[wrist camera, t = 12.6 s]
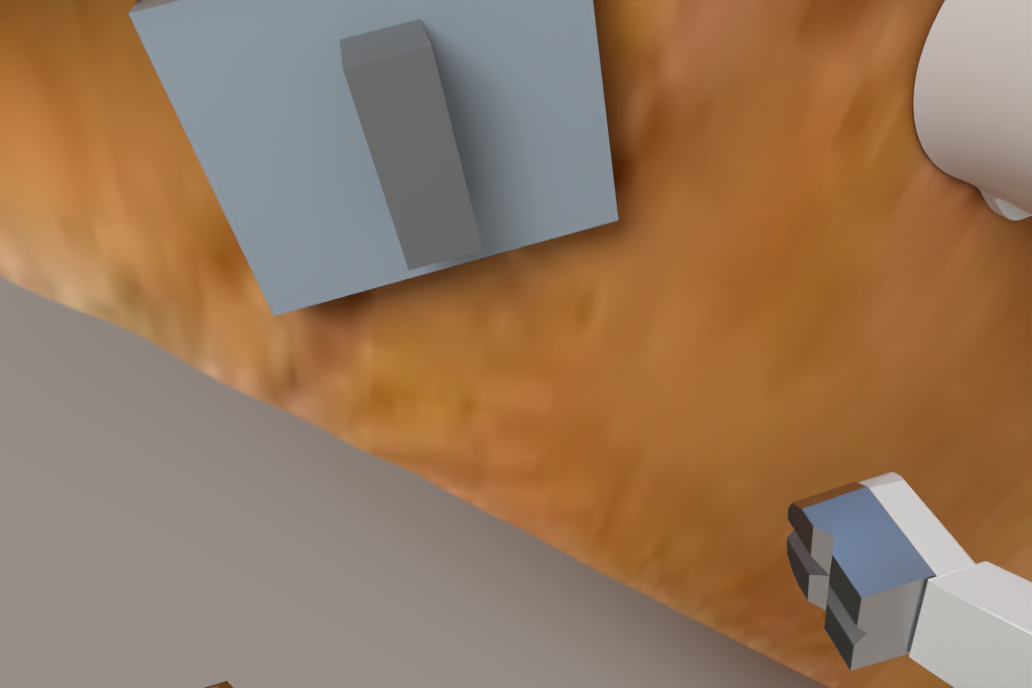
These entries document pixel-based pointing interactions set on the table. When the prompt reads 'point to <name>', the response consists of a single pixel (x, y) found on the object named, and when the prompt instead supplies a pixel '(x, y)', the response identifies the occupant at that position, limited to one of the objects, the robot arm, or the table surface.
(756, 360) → the table surface
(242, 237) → the lid
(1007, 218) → the robot arm
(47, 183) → the table surface
